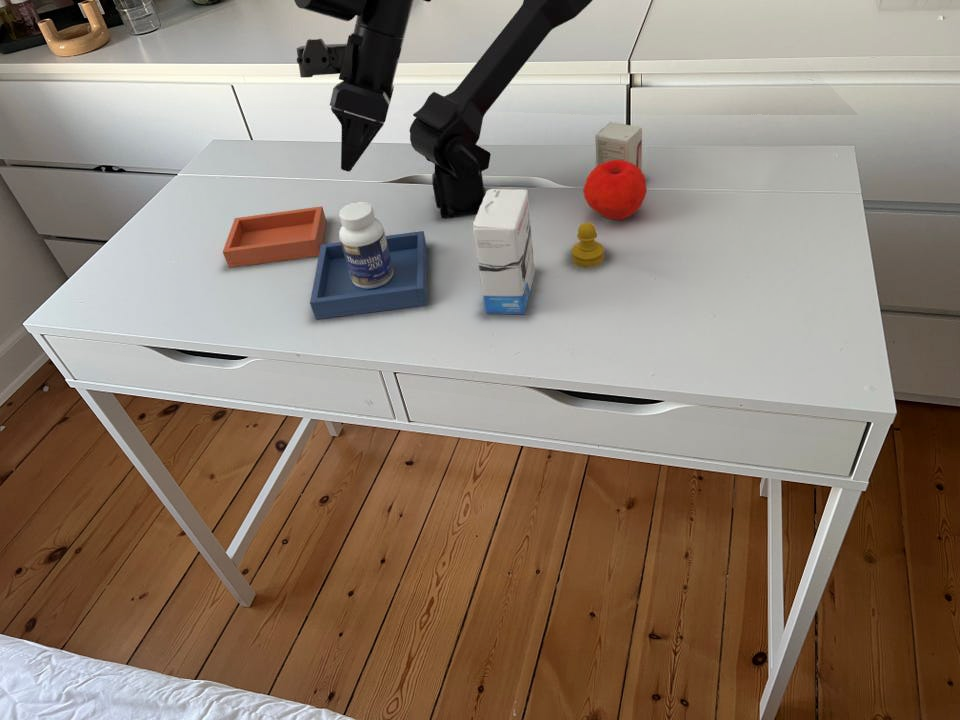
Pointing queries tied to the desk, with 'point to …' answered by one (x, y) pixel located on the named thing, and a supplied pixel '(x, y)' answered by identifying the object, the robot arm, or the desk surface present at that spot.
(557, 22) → the robot arm
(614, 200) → the apple
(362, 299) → the blue tray
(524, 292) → the ink box
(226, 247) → the terracotta tray
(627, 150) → the small box
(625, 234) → the desk surface
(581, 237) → the chess piece
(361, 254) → the pill bottle
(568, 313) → the desk surface
